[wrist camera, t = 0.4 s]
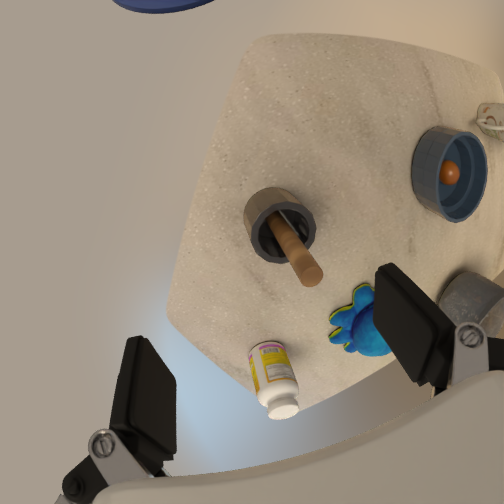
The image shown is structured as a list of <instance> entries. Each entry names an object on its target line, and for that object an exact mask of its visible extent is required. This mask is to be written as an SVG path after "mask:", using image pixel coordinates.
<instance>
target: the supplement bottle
mask: <svg viewBox="0 0 504 504" xmlns="http://www.w3.org/2000/svg"><path fill="white" fill-rule="evenodd" d="M249 363H250V368H251V372H252V376H253V381H254V385H255V389H256V394H257V398H258V401H259V402H260V404H262V405H263V406H265V407H267V412H268V415H269V417H270V418H271V419H275V420H279V419H285V418H288V417H291V416H293V415H294V414H296V413H297V412H298V411H299V406H298V402H297V401H296V400H295V399H296V398H297V396H298V394H299V386H298V383H297V381H296V378H295V375H294V372H293V370H292V367H291V364H290V362H289V359H288V356H287V353H286V351H285V348H284V347H283V346H282V345H281V344H279V343H277V342H264V343H261V344H259V345H257V346H255V347H254V348H253V349H252V350H251V351H250V353H249Z"/></svg>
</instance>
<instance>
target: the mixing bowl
mask: <svg viewBox="0 0 504 504" xmlns="http://www.w3.org/2000/svg"><path fill="white" fill-rule="evenodd" d="M443 160H451V161H453V162H454V163H455V164H456V165H457V166H458V168H459V173H460V175H459V179H458V181H457V182H456V183H455V184H453V185H446V184H444V183H442V182H441V181H440V180H439V173H440V169H441V164H442V161H443ZM487 173H488V167H487V157H486V154H485V150H484V147H483V145H482V143H481V142H480V140H479V139H478V137H477V136H475V135H474V134H472V133H471V132H468V131H464V130H460V129H455V128H451V127H445V126H437V127H435V128H432V129H430V130H428V132H427V133H426V134H425V135H424V136H423V137H422V138H421V140H420V142H419V144H418V146H417V148H416V150H415V155H414V159H413V163H412V182H413V187H414V192H415V194H416V196H417V198H418V200H419V202H420V203H421V204H422V205H423V206H425V207H426V208H427V209H429V210H430V211H432V212H434V213H436V214H437V215H439V216H441V217H442V218H444V219H446V220H447V221H450V222H454V223H458V222H461V221H464V220H466V219H467V218H468V217H469V216H471V215H472V214H473V212H474V211H475V210H476V208H477V207H478V205H479V203H480V201H481V199H482V197H483V194H484V191H485V187H486V182H487Z"/></svg>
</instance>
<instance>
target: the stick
mask: <svg viewBox="0 0 504 504" xmlns="http://www.w3.org/2000/svg"><path fill="white" fill-rule="evenodd" d="M265 220H266V222H267V223H268V225H269V227H270V229H271V230H272V232H273V234H274V236H275V237H276V239H277V241H278V243H279V244H280V246H281V248H282V250H283V251H284V253H285V255H286V257H287V258H288V260H289V262H290V264H291V266H292V267H293V269H294V271H295V273H296V275H297V276H298V278H299V280H300V282H301V283H302V285H304V286H306V287H313V286H315V285H317V284H318V283H319V282H320V281H321V280H322V278H323V271H322V269H321V268H320V266H319V265H318V264H317V262H316V261H315V259H314V258H313V257H312V255H311V254H310V252H309V251H308V250H307V248H306V247H305V246H304V244H303V243H302V241H301V240H300V239H299V237H298V236H297V235H296V233H295V232H294V231H293V229H292V228H291V227H290V225H289V224H288V223H287V221H286V220H285V219H284V217H283V216H282V215H281V213H280V212H279V211H278V210H277V211H274V212H273V213H272V214H270V215H269V216H267V217H266V218H265Z"/></svg>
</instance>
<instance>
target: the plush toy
mask: <svg viewBox="0 0 504 504" xmlns="http://www.w3.org/2000/svg"><path fill="white" fill-rule="evenodd" d="M373 306H374V289H373V288H371V286H370V285H368V284H362V285H361V286H359V287H357V289H355V290H354V293H353V305H352V306H349V307H348V306H347V307H342V308H341V309H339V310H337V311H336V312H335V313H333V314H332V316H330V318H329V321H330V323H331V324H332V325H335V326H341V328H339V329H338V330H336V331H334V333H332V335H331V336H329V339H330V342H331V343H333V344H343V343H347V344H346V345H345V347H344V350H345V351H347V352H350V353H352V352H355V351H358V352H359V353H361V354H362V355H365V356H383V355H386V354H388V353H390V352H391V351H392V350H391V349H390V348H389V346H388V345H387V343H386V342H385V340H384V339H383V338H382V336H381V335H380V333H379V332H378V330H377V329H376V328H375V326H374V324H373Z"/></svg>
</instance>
